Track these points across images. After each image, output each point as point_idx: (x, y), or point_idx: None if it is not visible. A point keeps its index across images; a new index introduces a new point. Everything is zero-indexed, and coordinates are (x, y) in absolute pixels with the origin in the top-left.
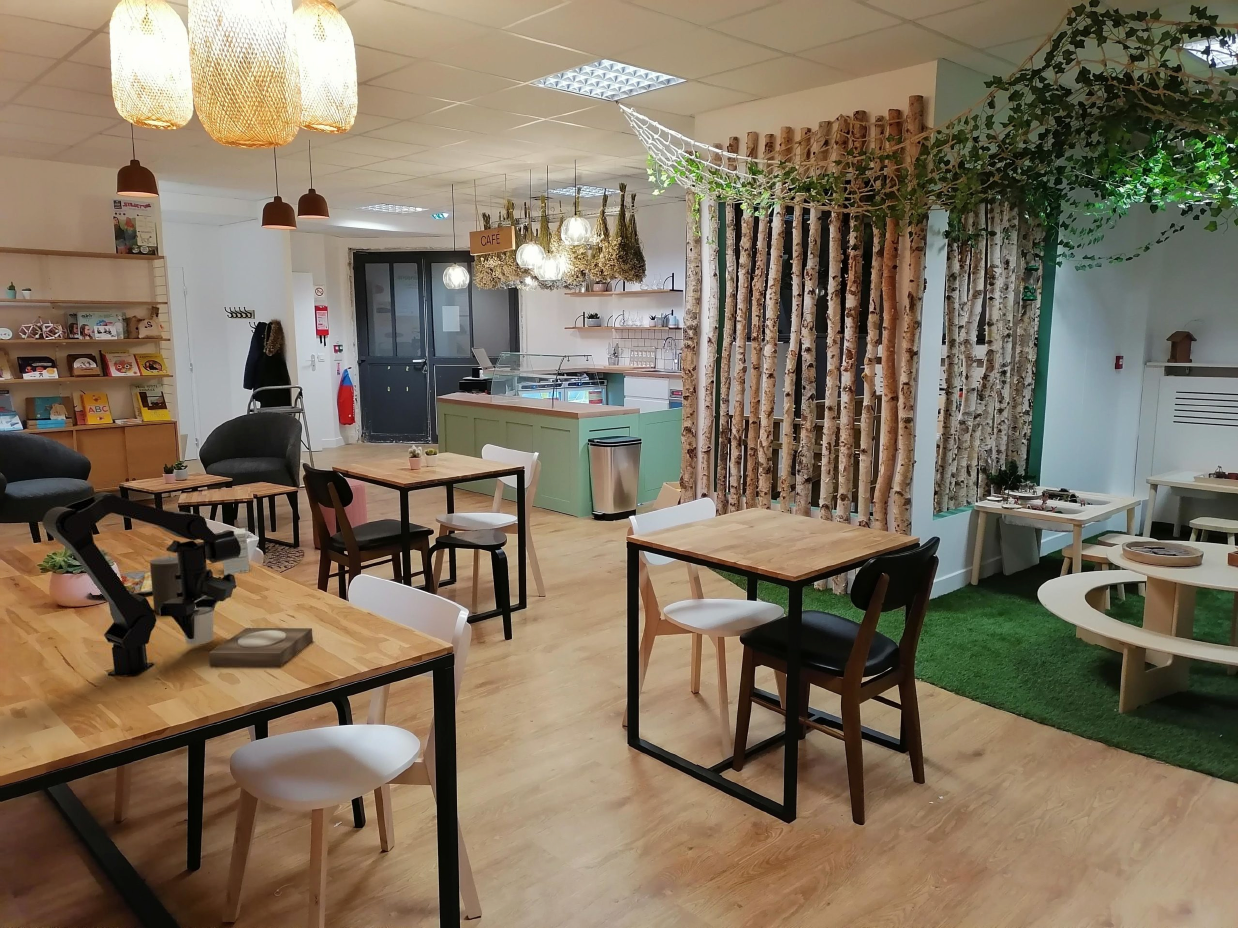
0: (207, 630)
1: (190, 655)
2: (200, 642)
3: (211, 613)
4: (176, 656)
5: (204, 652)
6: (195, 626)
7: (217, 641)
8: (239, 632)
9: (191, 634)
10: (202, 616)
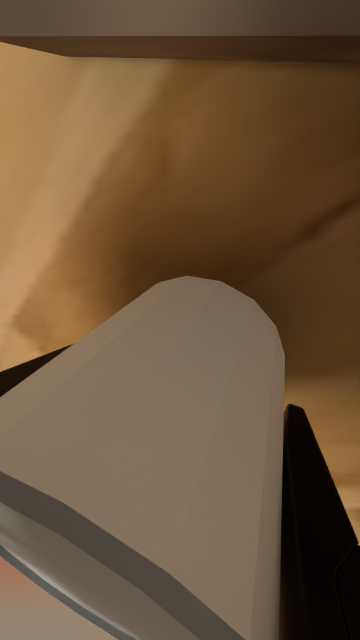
0: (225, 344)
1: (318, 347)
2: (279, 339)
3: (58, 449)
4: (312, 403)
5: (282, 284)
6: (278, 482)
7: (109, 265)
8: (93, 33)
9: (313, 446)
10: (223, 563)
